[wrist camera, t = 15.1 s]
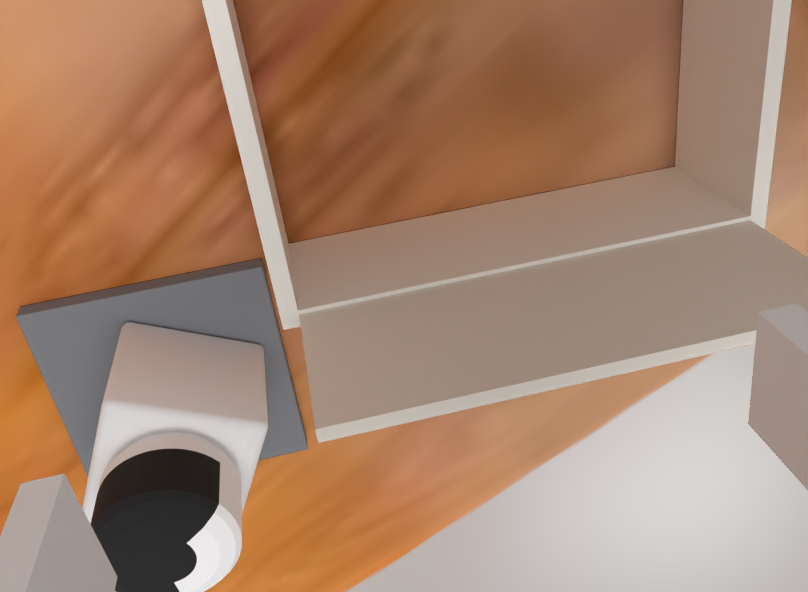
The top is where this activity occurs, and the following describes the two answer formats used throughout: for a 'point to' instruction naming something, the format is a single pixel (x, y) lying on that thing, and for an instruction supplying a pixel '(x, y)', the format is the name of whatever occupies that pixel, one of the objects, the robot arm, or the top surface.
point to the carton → (543, 253)
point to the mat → (167, 308)
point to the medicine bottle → (175, 457)
